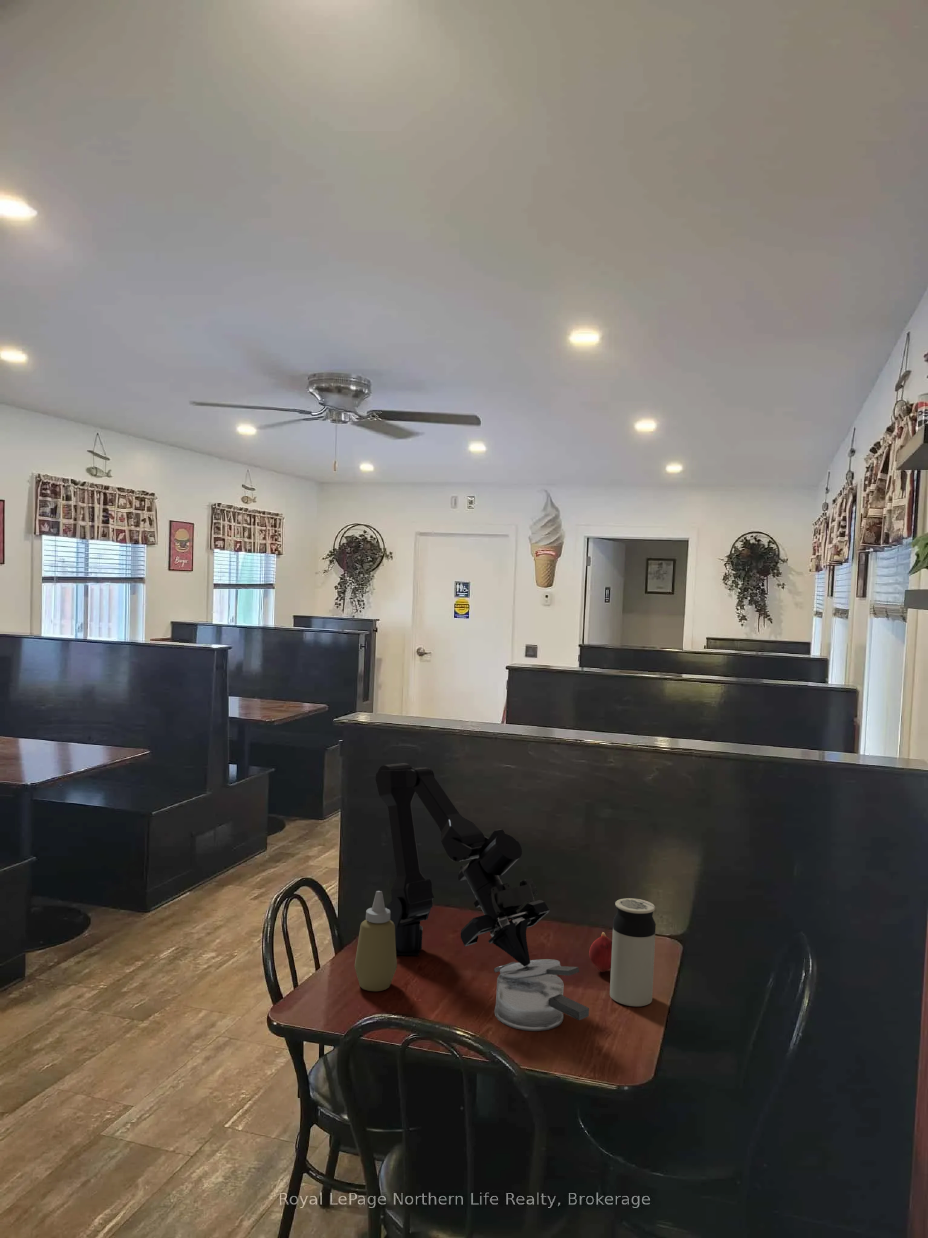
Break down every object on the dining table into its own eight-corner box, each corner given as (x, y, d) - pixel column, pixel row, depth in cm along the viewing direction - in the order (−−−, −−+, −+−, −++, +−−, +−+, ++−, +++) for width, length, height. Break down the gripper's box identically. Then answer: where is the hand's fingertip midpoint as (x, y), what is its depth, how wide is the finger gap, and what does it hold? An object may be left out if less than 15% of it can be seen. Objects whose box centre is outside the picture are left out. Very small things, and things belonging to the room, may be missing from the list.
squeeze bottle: (402, 981, 165) (406, 889, 165) (385, 998, 158) (389, 901, 158) (364, 974, 168) (369, 883, 168) (346, 990, 160) (350, 894, 160)
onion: (622, 972, 174) (624, 933, 174) (606, 980, 170) (608, 940, 170) (598, 964, 178) (600, 925, 178) (582, 971, 174) (584, 932, 174)
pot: (480, 1011, 154) (481, 978, 154) (527, 993, 162) (529, 962, 162) (558, 1053, 140) (559, 1017, 140) (605, 1032, 149) (607, 997, 149)
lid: (482, 976, 155) (481, 972, 155) (524, 962, 162) (523, 958, 163) (552, 981, 143) (552, 976, 143) (594, 966, 150) (593, 961, 150)
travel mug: (625, 1010, 157) (629, 913, 157) (601, 992, 165) (606, 899, 165) (660, 1004, 160) (665, 909, 160) (635, 987, 168) (640, 896, 168)
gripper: (473, 874, 152) (515, 955, 144) (544, 858, 165) (586, 932, 156) (443, 906, 158) (481, 986, 150) (513, 888, 171) (552, 961, 162)
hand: (527, 965), depth 154 cm, fingers closed
